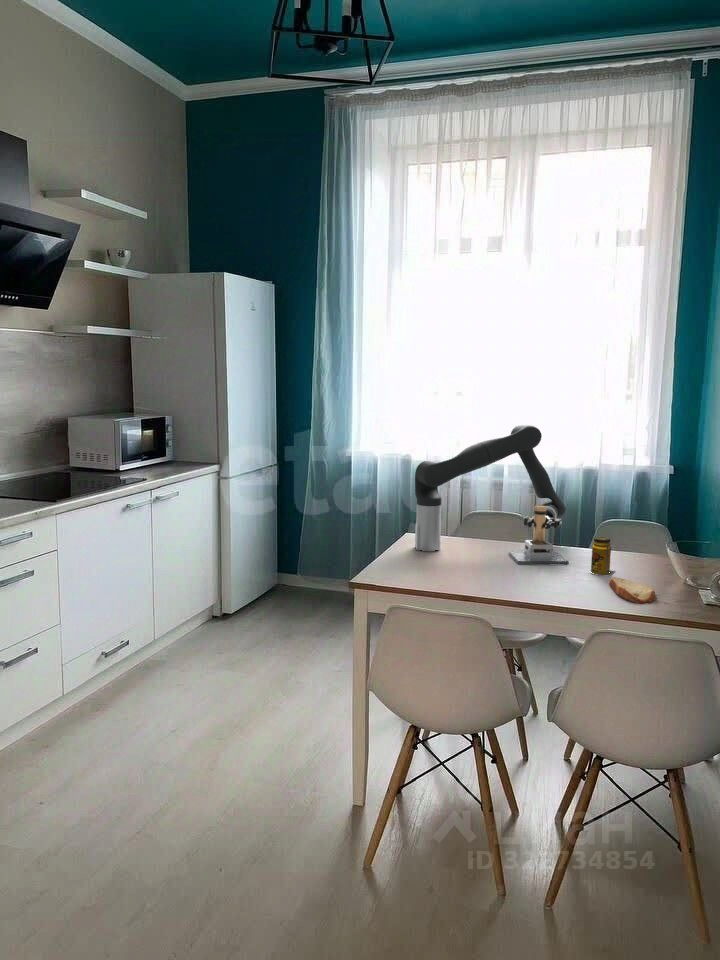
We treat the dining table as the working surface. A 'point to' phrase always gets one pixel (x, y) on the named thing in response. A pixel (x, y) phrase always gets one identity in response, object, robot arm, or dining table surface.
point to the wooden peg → (539, 526)
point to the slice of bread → (632, 590)
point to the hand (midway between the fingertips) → (538, 525)
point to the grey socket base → (538, 554)
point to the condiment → (601, 557)
